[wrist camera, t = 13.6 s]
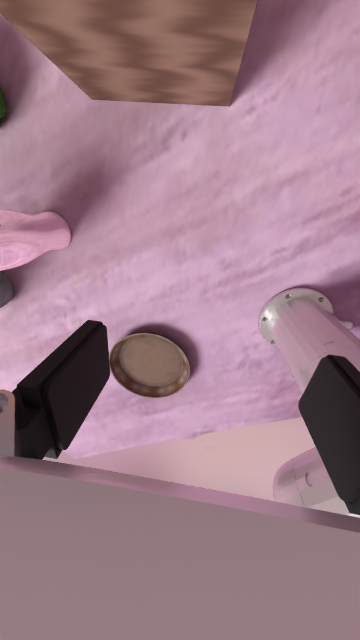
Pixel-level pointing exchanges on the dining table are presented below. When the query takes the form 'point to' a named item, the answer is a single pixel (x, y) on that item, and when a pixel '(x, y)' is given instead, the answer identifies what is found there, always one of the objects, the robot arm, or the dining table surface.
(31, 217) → the beer glass
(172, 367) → the plant saucer
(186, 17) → the backboard
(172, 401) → the dining table surface
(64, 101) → the dining table surface
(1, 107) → the bell pepper
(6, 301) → the bottle
